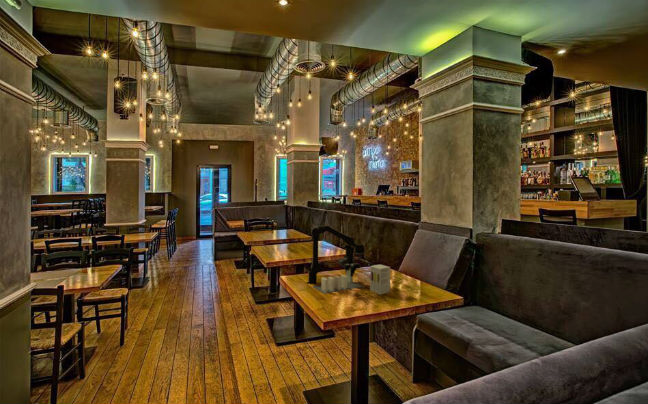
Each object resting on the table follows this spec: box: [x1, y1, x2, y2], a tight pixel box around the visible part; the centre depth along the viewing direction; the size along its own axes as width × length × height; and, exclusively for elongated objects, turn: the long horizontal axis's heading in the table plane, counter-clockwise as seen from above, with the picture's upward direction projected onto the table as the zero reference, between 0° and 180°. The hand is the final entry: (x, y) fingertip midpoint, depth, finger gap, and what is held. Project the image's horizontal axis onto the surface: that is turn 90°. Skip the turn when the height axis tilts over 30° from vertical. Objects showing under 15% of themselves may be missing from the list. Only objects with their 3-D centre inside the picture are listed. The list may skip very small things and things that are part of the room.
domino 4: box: [340, 274, 347, 289], centre depth 233 cm, size 5×2×8 cm, turn 29°
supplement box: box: [369, 264, 391, 295], centre depth 226 cm, size 10×9×17 cm
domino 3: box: [334, 275, 341, 290], centre depth 230 cm, size 5×2×8 cm, turn 29°
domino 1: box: [320, 277, 328, 292], centre depth 225 cm, size 5×2×8 cm, turn 29°
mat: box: [311, 281, 366, 294], centre depth 236 cm, size 18×32×1 cm, turn 119°
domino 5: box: [345, 269, 354, 283], centre depth 247 cm, size 5×2×8 cm, turn 29°
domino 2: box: [327, 276, 335, 291], centre depth 228 cm, size 5×2×8 cm, turn 29°
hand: (349, 275), depth 247 cm, fingers closed on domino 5, 5 cm apart
